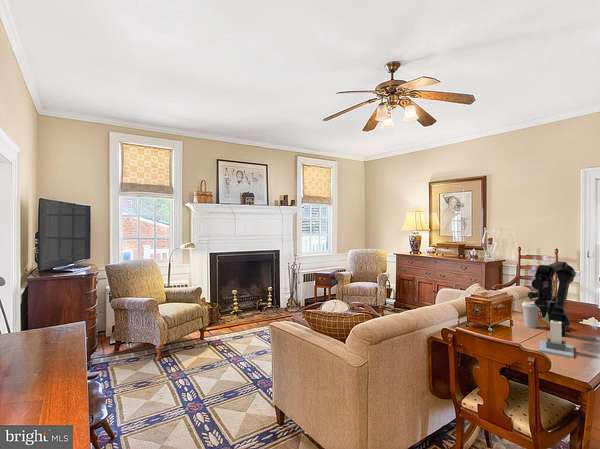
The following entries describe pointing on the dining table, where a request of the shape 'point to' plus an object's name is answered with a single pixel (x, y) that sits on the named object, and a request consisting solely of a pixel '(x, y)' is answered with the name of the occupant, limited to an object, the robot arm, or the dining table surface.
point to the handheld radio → (548, 320)
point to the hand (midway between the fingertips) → (546, 316)
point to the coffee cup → (530, 314)
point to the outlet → (556, 348)
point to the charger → (556, 332)
